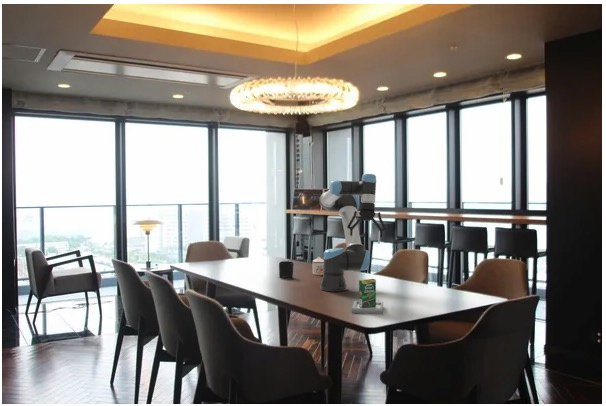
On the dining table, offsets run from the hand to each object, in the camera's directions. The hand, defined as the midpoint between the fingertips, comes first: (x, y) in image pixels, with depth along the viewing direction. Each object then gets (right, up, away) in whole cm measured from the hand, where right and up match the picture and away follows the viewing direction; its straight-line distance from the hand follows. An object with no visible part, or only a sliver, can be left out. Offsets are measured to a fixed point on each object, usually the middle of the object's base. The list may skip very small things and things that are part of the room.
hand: (365, 243), depth 271 cm
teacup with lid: (-21, -28, +81) cm, 88 cm away
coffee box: (-3, -28, -28) cm, 40 cm away
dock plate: (-2, -29, -28) cm, 41 cm away
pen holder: (-44, -28, +65) cm, 83 cm away
